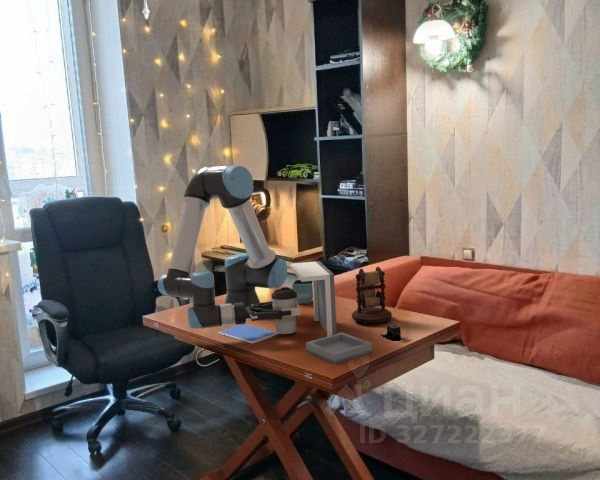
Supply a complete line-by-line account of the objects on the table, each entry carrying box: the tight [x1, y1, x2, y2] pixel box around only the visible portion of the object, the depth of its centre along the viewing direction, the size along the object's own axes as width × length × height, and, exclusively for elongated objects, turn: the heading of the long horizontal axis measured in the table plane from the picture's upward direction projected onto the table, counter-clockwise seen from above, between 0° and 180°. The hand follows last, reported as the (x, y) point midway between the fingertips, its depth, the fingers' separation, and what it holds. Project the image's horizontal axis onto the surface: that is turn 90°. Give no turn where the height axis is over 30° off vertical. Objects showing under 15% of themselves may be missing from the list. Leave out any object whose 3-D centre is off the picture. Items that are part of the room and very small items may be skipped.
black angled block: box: [381, 323, 407, 342], centre depth 197 cm, size 12×7×5 cm, turn 22°
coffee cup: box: [270, 286, 298, 335], centre depth 206 cm, size 9×9×15 cm
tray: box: [305, 332, 373, 365], centre depth 186 cm, size 15×15×3 cm
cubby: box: [289, 260, 338, 337], centre depth 208 cm, size 24×11×22 cm, turn 10°
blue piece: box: [217, 323, 278, 344], centre depth 210 cm, size 19×13×1 cm, turn 45°
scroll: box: [351, 266, 393, 326], centre depth 216 cm, size 15×15×20 cm
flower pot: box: [291, 279, 313, 305], centre depth 247 cm, size 9×9×9 cm
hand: (297, 307), depth 206 cm, fingers closed on coffee cup, 8 cm apart
